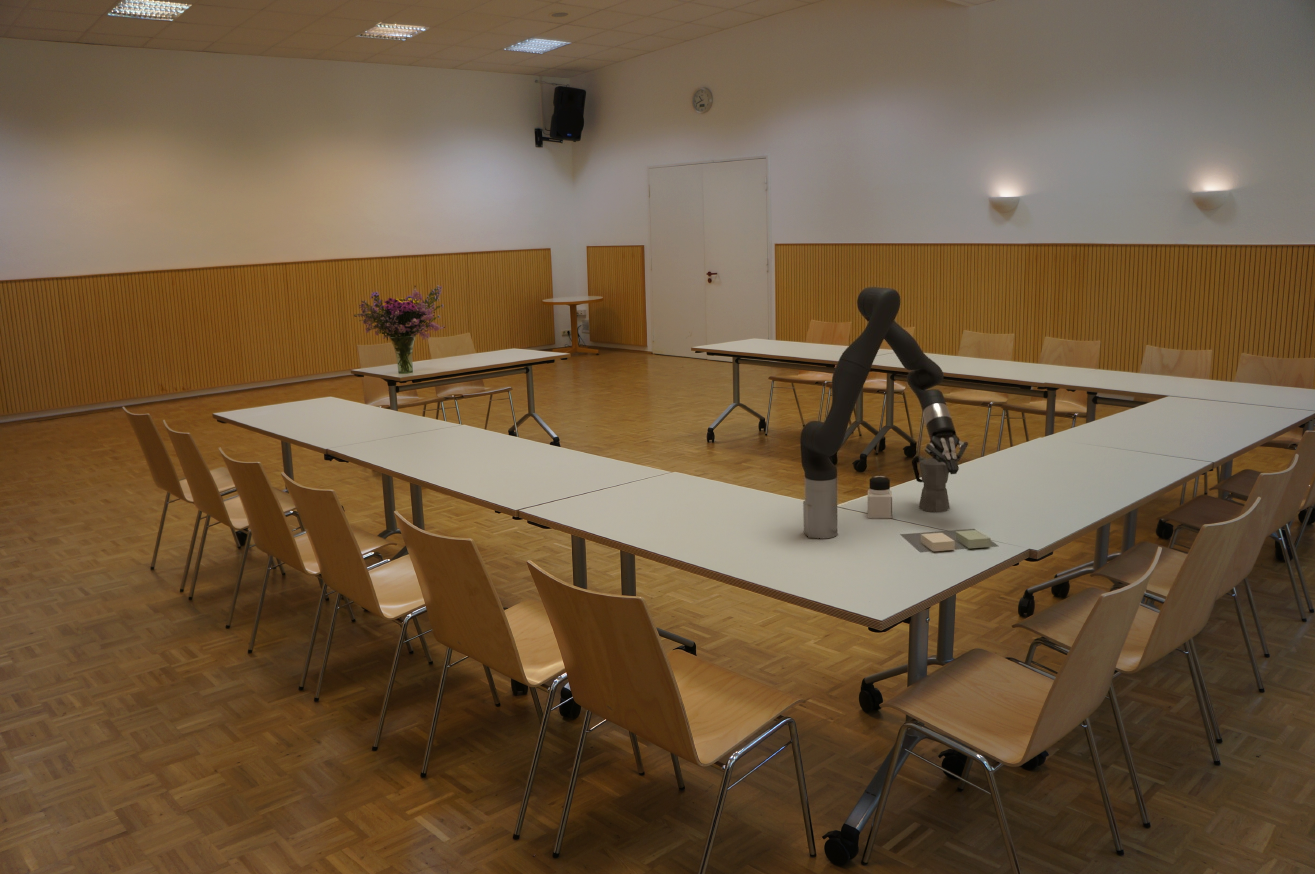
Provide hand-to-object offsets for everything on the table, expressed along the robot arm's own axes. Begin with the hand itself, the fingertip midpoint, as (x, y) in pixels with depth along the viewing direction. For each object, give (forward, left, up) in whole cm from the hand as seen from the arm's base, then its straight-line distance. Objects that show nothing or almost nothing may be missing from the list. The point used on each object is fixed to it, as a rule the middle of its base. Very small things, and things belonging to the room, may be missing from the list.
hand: (954, 472), depth 269 cm
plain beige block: (-10, -9, -16) cm, 21 cm away
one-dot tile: (0, -9, -16) cm, 18 cm away
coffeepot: (+3, +25, -18) cm, 30 cm away
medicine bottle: (-15, +21, -18) cm, 31 cm away
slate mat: (-5, -8, -17) cm, 20 cm away
